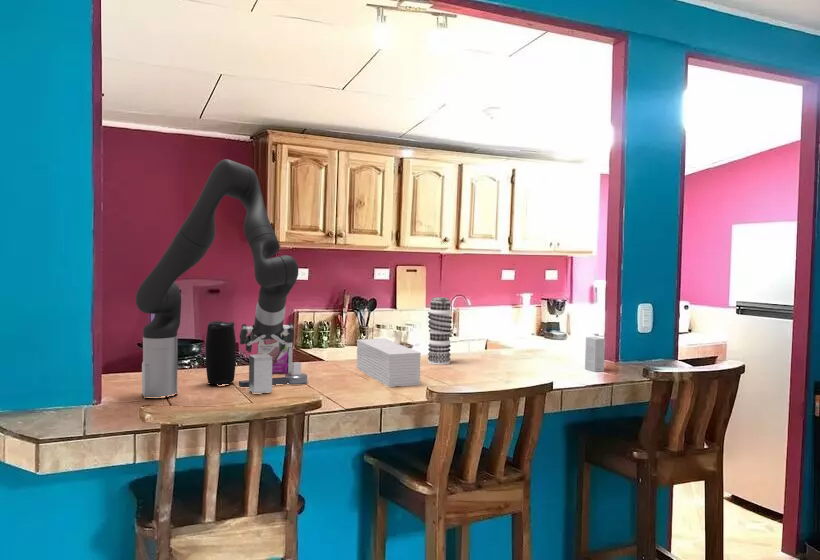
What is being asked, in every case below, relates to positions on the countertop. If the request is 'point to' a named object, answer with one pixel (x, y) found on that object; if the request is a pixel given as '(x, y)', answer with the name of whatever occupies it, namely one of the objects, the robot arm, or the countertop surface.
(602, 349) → the skincare box
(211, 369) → the portable speaker
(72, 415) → the countertop surface
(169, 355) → the robot arm
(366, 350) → the stack of papers
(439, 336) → the decorative candle
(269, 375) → the brushed aluminum block
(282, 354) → the candy bar box
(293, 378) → the ratchet
